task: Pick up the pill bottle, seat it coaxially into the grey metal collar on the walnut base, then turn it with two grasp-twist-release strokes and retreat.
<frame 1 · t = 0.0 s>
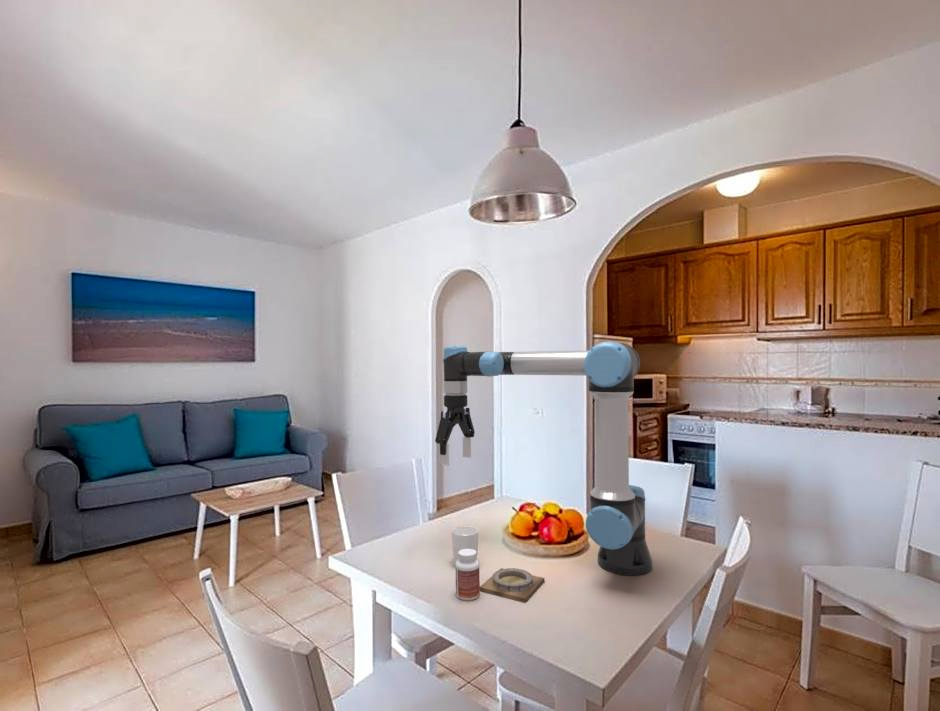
hand: (456, 461, 155), 28 cm above the table, fingers open, 13 cm apart
socket base: (512, 586, 129), on the table
pill bottle: (467, 596, 125), on the table
white cup: (465, 565, 144), on the table
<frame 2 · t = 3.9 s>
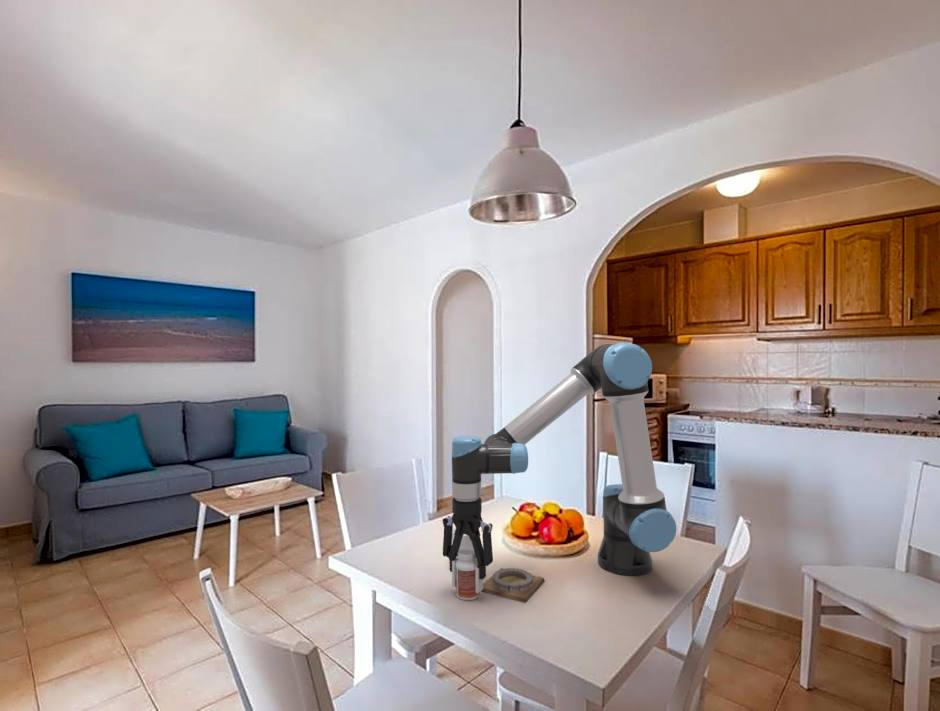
hand: (467, 587, 125), 2 cm above the table, fingers closed on pill bottle, 6 cm apart
pill bottle: (467, 596, 125), on the table, touching gripper
everything else where it was.
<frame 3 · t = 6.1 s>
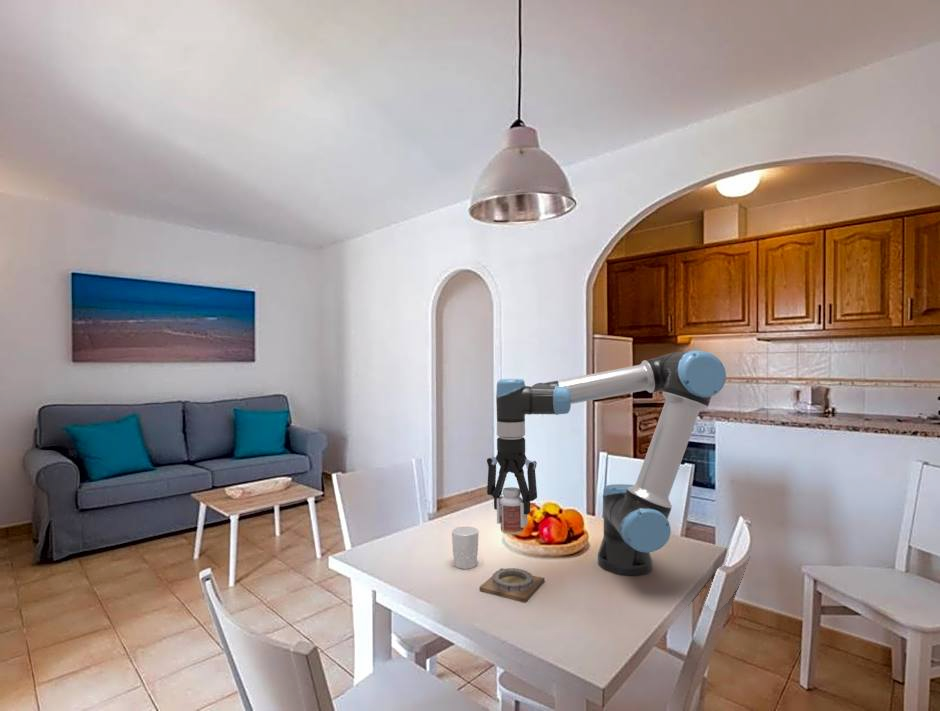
hand: (512, 523, 130), 17 cm above the table, fingers closed on pill bottle, 6 cm apart
pill bottle: (512, 531, 130), point 14 cm above the table, touching gripper
everything else where it was.
when the fingers open (4 cm above the table, at t = 8.7 s): pill bottle stays where it is, resting on socket base.
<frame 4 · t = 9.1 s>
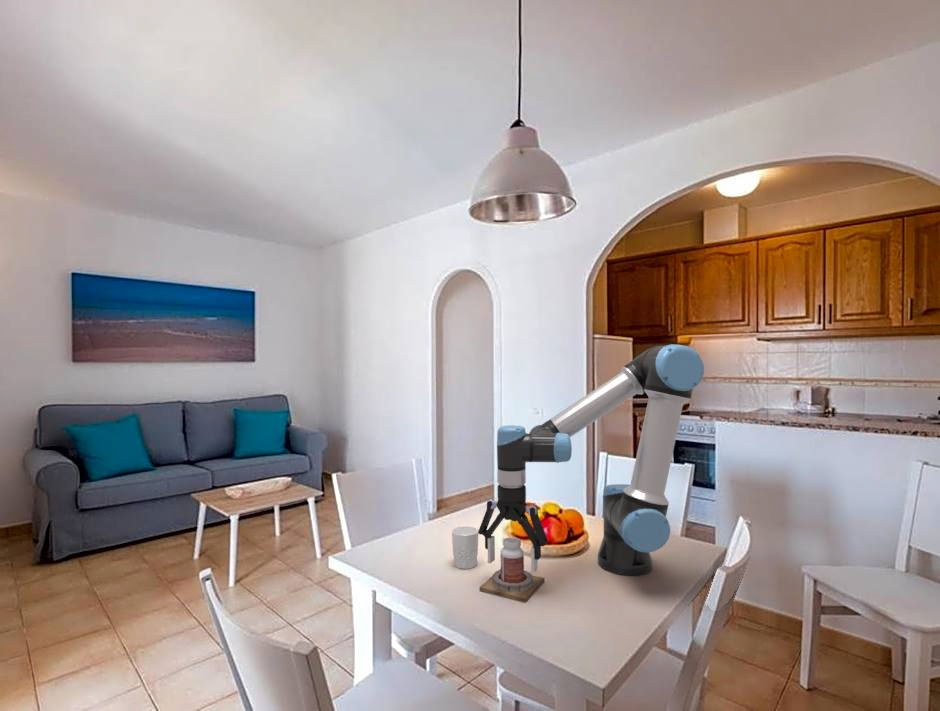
hand: (512, 566, 130), 5 cm above the table, fingers open, 12 cm apart
pill bottle: (512, 582, 130), point 1 cm above the table, touching socket base
everything else where it was.
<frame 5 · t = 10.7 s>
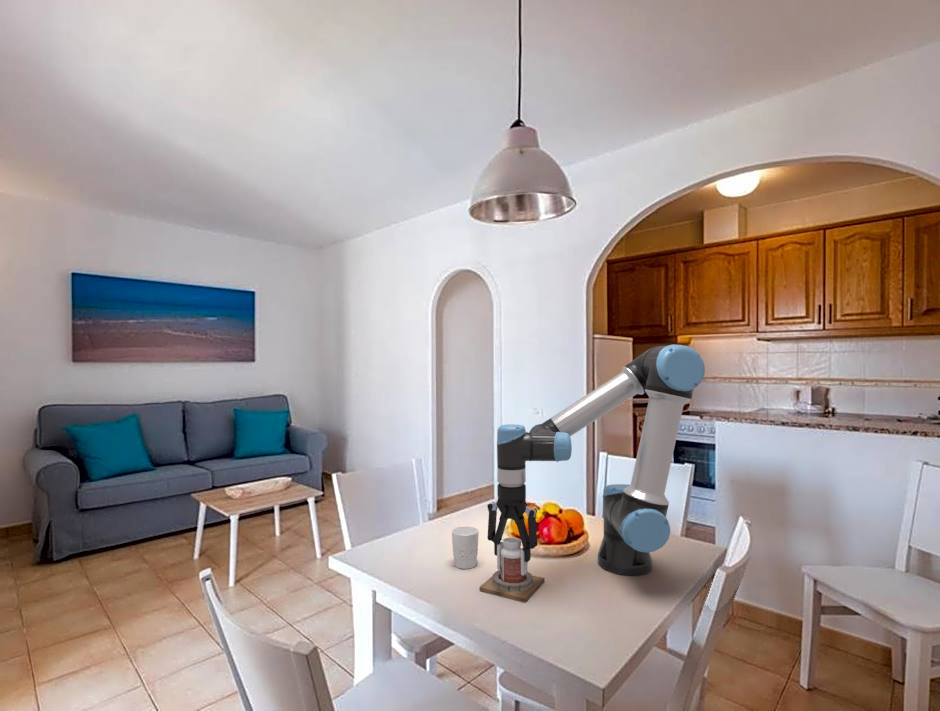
hand: (512, 570, 130), 4 cm above the table, fingers closed on pill bottle, 6 cm apart
pill bottle: (512, 582, 130), point 1 cm above the table, touching gripper, socket base
everything else where it was.
when the fingers open (5 cm above the table, at t = 11.7 s): pill bottle stays where it is, resting on socket base.
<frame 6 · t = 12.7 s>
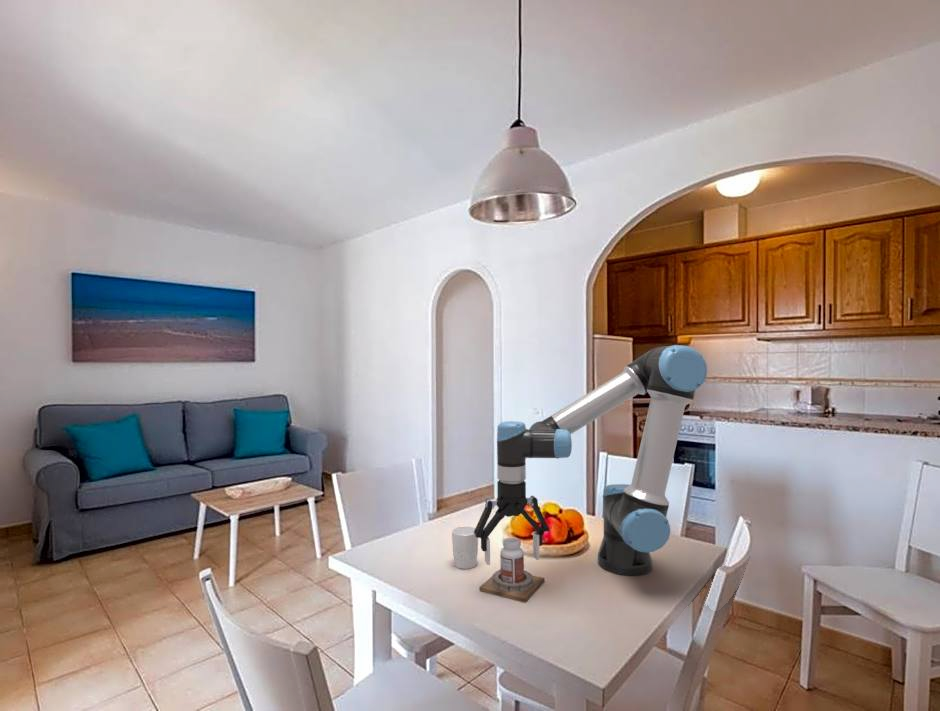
hand: (512, 560, 130), 7 cm above the table, fingers open, 13 cm apart
pill bottle: (512, 583, 129), point 1 cm above the table, touching socket base
everything else where it was.
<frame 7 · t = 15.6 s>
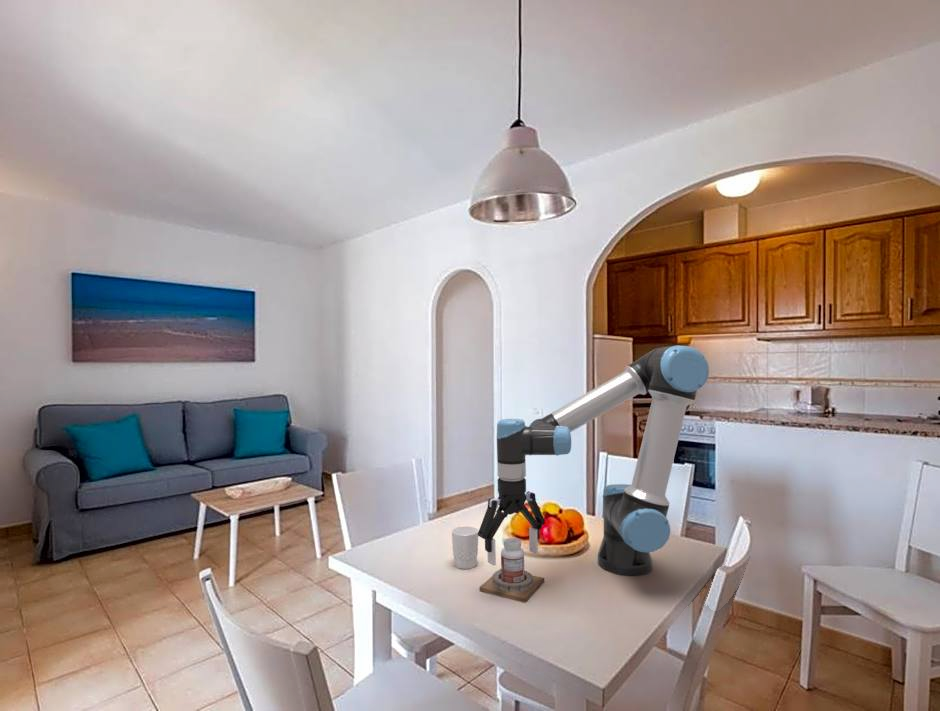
hand: (513, 557, 130), 8 cm above the table, fingers open, 13 cm apart
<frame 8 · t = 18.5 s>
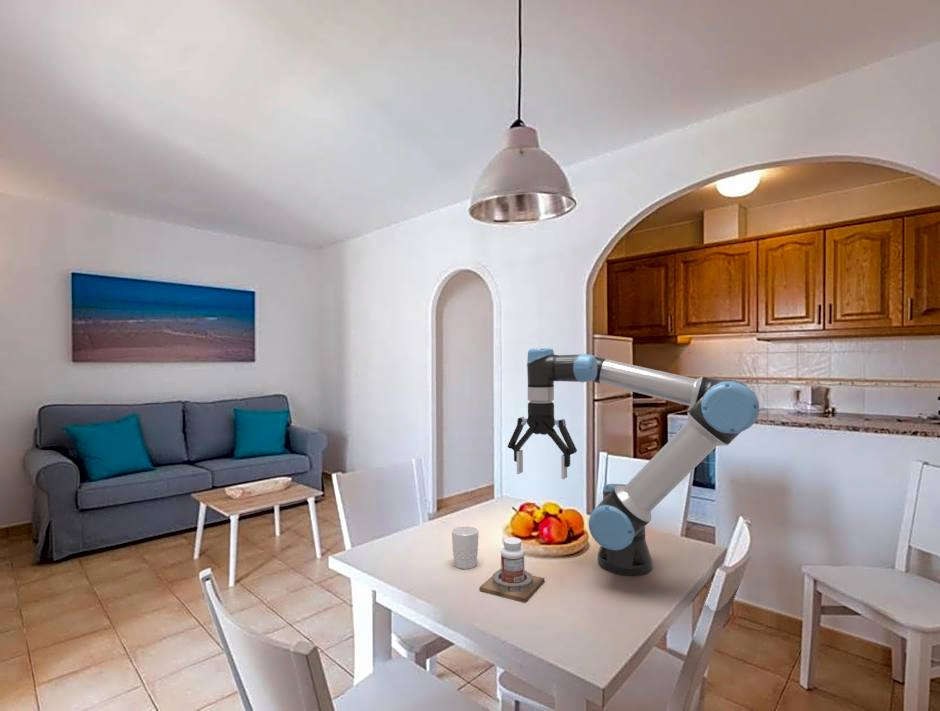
hand: (541, 475, 140), 27 cm above the table, fingers open, 13 cm apart
at the end: pill bottle 0.1 cm from the socket base (horizontally); pill bottle tilted 0°; the gripper is holding nothing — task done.
